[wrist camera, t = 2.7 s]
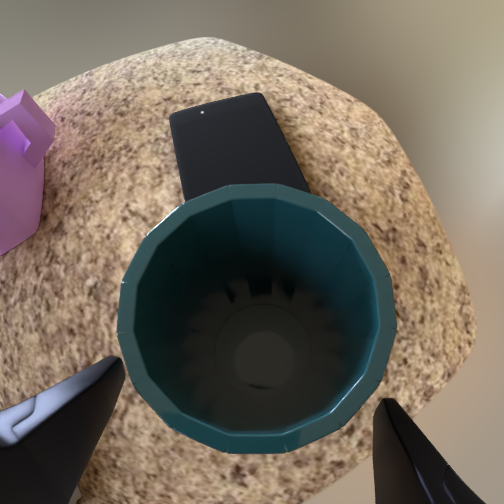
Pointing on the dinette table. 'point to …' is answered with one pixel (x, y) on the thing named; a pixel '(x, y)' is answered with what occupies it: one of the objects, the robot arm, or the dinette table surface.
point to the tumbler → (256, 319)
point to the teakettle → (21, 167)
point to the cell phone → (232, 146)
